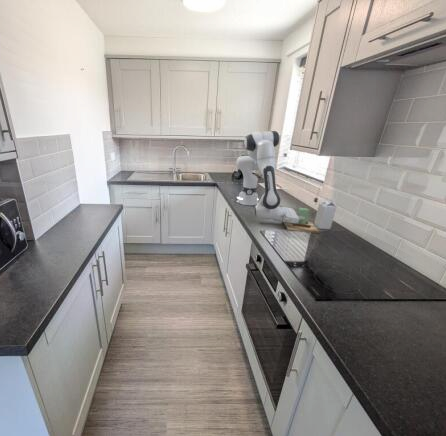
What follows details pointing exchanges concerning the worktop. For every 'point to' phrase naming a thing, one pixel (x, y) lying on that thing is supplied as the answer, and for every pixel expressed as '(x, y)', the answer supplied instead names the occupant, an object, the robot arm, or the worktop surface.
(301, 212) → the back pad
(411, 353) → the worktop surface
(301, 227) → the base pad
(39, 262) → the worktop surface
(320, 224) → the milk carton
